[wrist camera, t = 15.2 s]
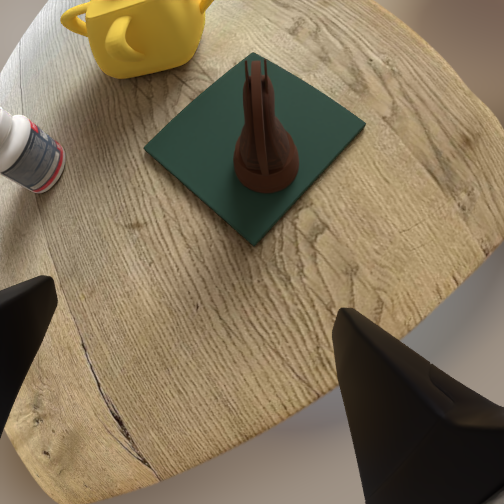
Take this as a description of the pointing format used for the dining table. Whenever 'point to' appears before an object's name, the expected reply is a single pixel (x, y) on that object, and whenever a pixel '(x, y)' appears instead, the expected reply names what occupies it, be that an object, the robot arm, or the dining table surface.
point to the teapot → (139, 33)
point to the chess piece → (263, 138)
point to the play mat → (227, 133)
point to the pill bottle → (29, 154)
